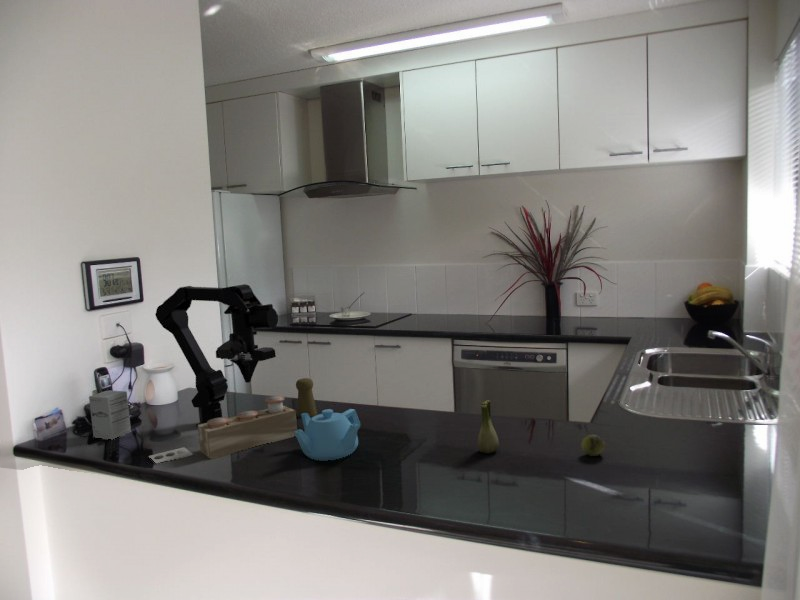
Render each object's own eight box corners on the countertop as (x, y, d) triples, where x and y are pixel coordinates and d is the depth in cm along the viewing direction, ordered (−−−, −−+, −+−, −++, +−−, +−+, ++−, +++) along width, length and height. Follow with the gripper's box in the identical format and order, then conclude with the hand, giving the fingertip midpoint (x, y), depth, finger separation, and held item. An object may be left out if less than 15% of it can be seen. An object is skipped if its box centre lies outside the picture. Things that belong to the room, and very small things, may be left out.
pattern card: (148, 457, 159) (148, 455, 159) (184, 448, 165) (183, 446, 165) (156, 464, 154) (155, 462, 154) (192, 455, 159) (192, 452, 159)
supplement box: (92, 439, 179) (87, 396, 177) (113, 431, 185) (108, 389, 184) (112, 440, 176) (106, 397, 174) (132, 432, 183) (127, 390, 181)
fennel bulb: (488, 446, 151) (485, 397, 150) (504, 450, 148) (502, 400, 146) (473, 453, 147) (470, 403, 146) (489, 457, 143) (487, 406, 142)
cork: (313, 417, 186) (310, 381, 184) (294, 417, 187) (290, 381, 186) (319, 411, 191) (316, 376, 190) (301, 411, 193) (298, 376, 192)
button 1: (206, 439, 161) (204, 420, 160) (225, 434, 164) (224, 416, 163) (213, 444, 157) (211, 424, 156) (233, 439, 160) (231, 420, 159)
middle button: (236, 432, 166) (234, 413, 165) (254, 427, 169) (252, 409, 168) (243, 436, 161) (241, 417, 161) (262, 431, 164) (260, 413, 164)
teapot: (360, 461, 147) (357, 417, 145) (296, 466, 146) (293, 422, 145) (362, 440, 162) (359, 400, 161) (303, 445, 161) (300, 404, 160)
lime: (578, 455, 141) (577, 433, 141) (595, 451, 143) (595, 430, 142) (592, 461, 137) (591, 439, 136) (609, 457, 139) (608, 435, 138)
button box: (200, 451, 162) (197, 425, 161) (285, 429, 175) (282, 405, 175) (210, 458, 155) (208, 431, 154) (297, 435, 169) (295, 410, 168)
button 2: (263, 416, 170) (261, 398, 169) (280, 412, 173) (279, 394, 172) (271, 420, 166) (269, 402, 165) (289, 416, 169) (287, 398, 168)
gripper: (198, 332, 176) (203, 386, 178) (245, 334, 166) (250, 391, 168) (228, 326, 185) (233, 377, 187) (274, 327, 175) (279, 382, 177)
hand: (248, 382), depth 179 cm, fingers closed
